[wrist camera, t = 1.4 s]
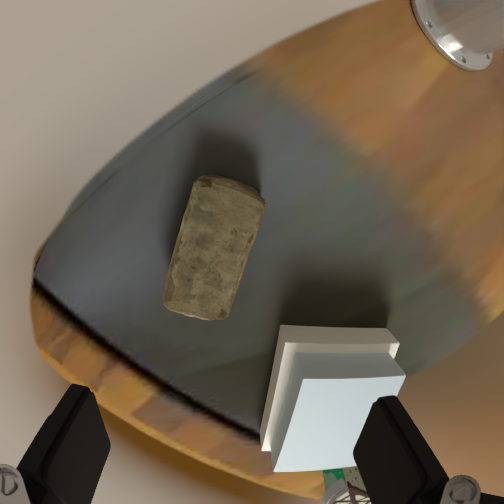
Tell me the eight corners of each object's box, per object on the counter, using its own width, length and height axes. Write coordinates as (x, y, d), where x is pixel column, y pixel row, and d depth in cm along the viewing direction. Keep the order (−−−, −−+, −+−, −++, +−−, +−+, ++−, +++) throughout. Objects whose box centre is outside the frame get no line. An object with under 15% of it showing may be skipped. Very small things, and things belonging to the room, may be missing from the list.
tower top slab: (295, 352, 26) (303, 378, 22) (389, 353, 27) (406, 375, 23) (270, 446, 30) (273, 471, 26) (349, 442, 30) (357, 465, 27)
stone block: (170, 289, 28) (157, 311, 23) (201, 169, 25) (193, 168, 21) (228, 306, 29) (226, 331, 24) (265, 188, 26) (271, 191, 21)
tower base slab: (279, 321, 30) (285, 342, 26) (384, 325, 31) (399, 343, 27) (259, 428, 34) (261, 450, 30) (346, 425, 35) (354, 445, 31)
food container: (293, 455, 35) (304, 511, 25) (327, 433, 34) (346, 490, 24) (342, 475, 37) (356, 521, 28) (372, 456, 36) (391, 502, 27)
